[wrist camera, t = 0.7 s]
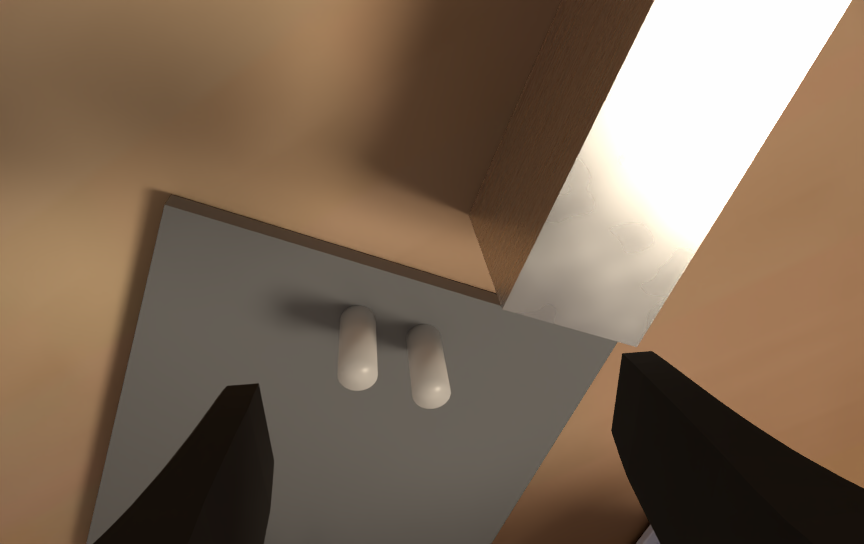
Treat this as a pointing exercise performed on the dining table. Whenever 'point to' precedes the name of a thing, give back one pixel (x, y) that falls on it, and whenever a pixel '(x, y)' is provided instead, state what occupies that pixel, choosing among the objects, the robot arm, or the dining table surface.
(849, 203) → the dining table surface
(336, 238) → the dining table surface
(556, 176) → the block
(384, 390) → the dock
